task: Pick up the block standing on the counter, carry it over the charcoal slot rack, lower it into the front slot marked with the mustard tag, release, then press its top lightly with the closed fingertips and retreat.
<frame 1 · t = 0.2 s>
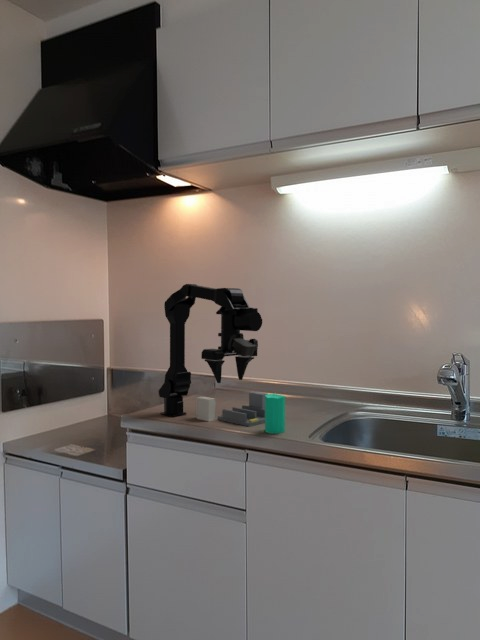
hand: (229, 381, 150), 14 cm above the countertop, tool pointing down, fingers open, 9 cm apart
block: (205, 419, 162), on the countertop
rack: (249, 419, 162), on the countertop
candle: (274, 431, 147), on the countertop
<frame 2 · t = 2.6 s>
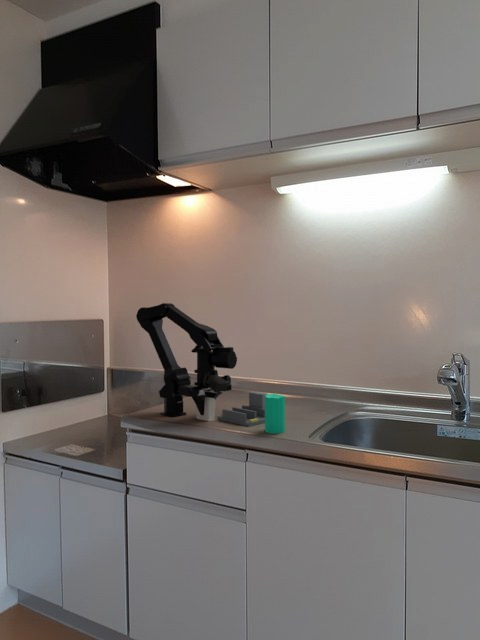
hand: (205, 414, 162), 2 cm above the countertop, tool pointing down, fingers closed on block, 3 cm apart
block: (205, 419, 162), on the countertop, touching gripper
everything else where it was.
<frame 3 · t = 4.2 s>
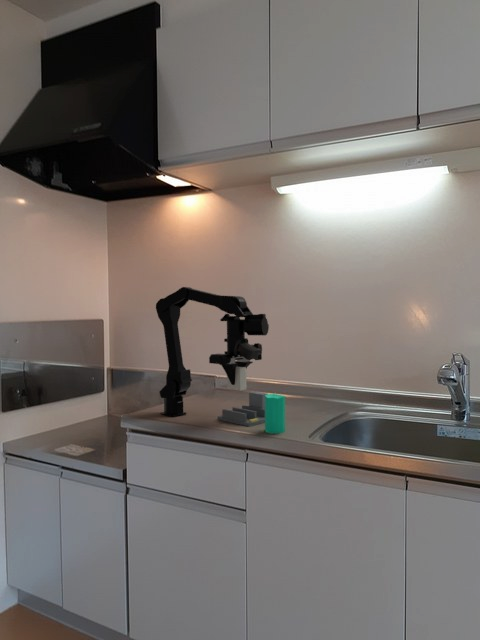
hand: (236, 384, 159), 12 cm above the countertop, tool pointing down, fingers closed on block, 3 cm apart
block: (236, 388, 159), point 10 cm above the countertop, touching gripper
everything else where it was.
when the fingers open (4 cm above the countertop, at t = 5.9 s): block drops 1 cm, resting on rack.
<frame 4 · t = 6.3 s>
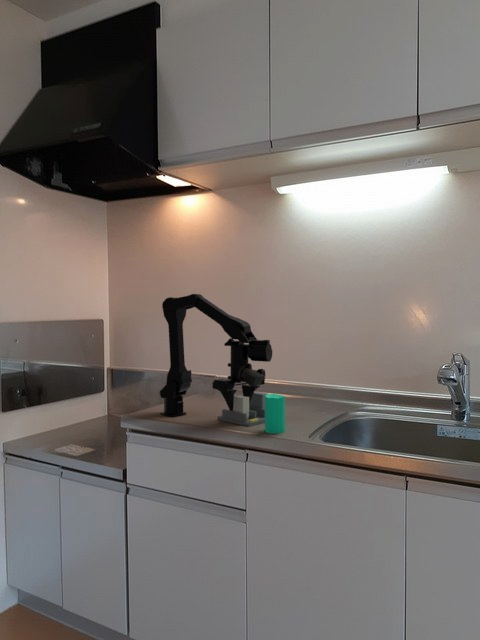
hand: (239, 408, 159), 4 cm above the countertop, tool pointing down, fingers open, 7 cm apart
block: (239, 418, 159), point 1 cm above the countertop, touching rack
everything else where it was.
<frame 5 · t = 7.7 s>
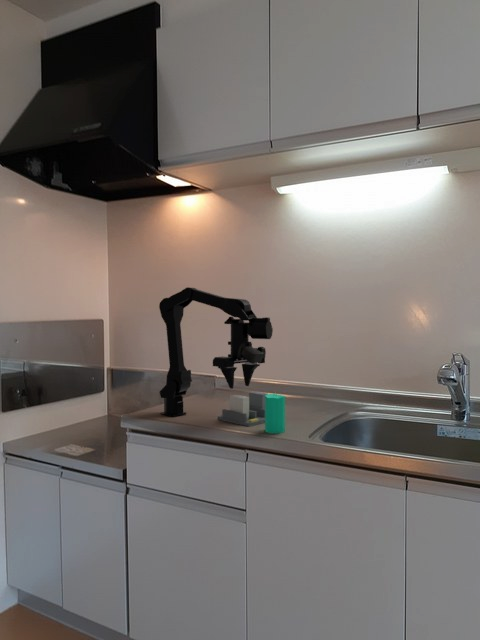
hand: (239, 387, 159), 11 cm above the countertop, tool pointing down, fingers open, 7 cm apart
nothing on the countertop moved.
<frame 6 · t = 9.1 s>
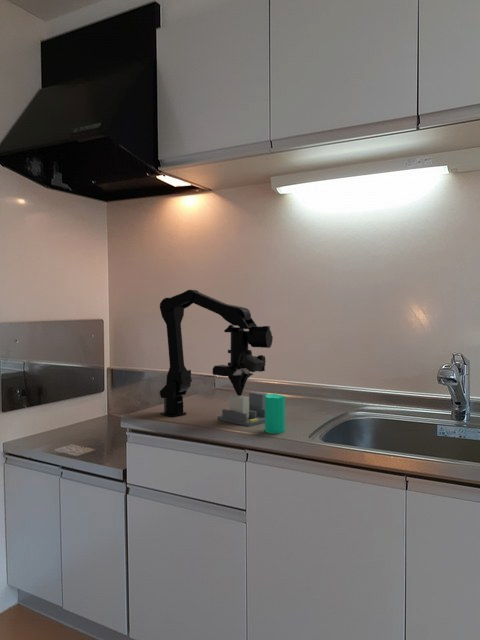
hand: (239, 395, 159), 8 cm above the countertop, tool pointing down, fingers closed
nothing on the countertop moved.
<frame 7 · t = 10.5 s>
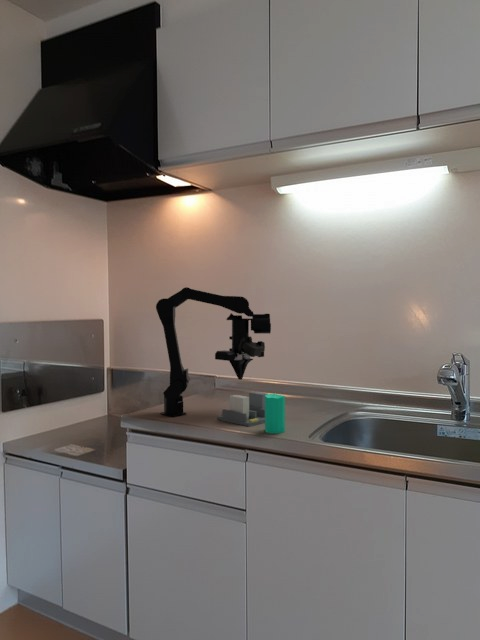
hand: (240, 379, 169), 12 cm above the countertop, tool pointing down, fingers closed
nothing on the countertop moved.
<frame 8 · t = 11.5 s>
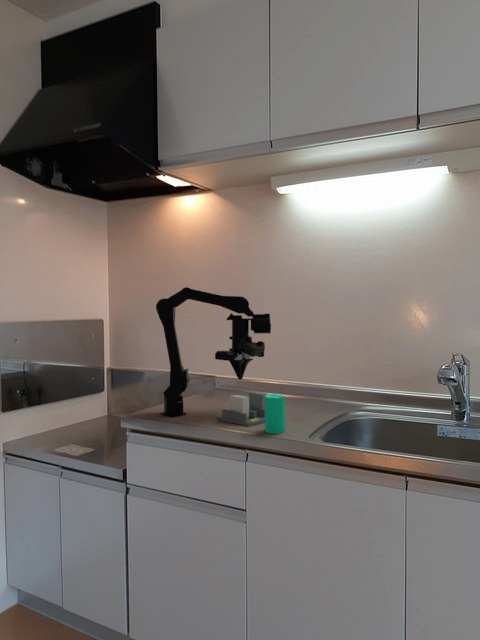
hand: (240, 379, 169), 12 cm above the countertop, tool pointing down, fingers closed
nothing on the countertop moved.
at the end: block 0.0 cm from the target spot on the rack, point 1.0 cm above the rack's base; block tilted 0°; the gripper is holding nothing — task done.
